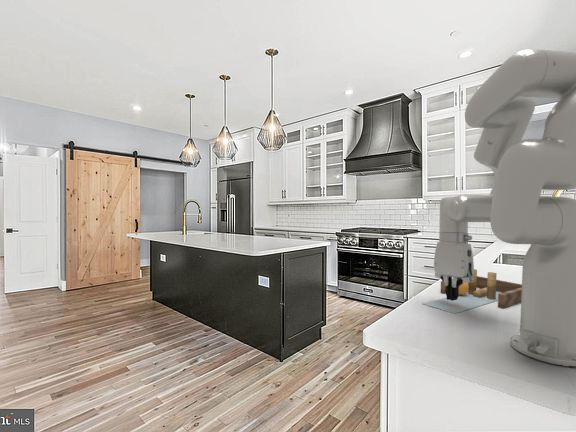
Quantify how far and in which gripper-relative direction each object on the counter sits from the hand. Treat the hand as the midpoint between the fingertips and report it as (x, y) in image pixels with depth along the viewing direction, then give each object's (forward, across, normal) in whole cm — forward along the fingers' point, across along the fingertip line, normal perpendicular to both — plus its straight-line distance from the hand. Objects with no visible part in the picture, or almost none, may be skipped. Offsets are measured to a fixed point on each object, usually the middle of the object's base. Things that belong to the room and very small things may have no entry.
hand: (452, 299), depth 94 cm
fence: (+2, +1, -21) cm, 21 cm away
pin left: (+2, +4, -18) cm, 19 cm away
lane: (+2, 0, -12) cm, 12 cm away
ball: (-1, +6, -13) cm, 14 cm away
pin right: (+2, -2, -18) cm, 18 cm away
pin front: (+1, +1, -16) cm, 16 cm away
